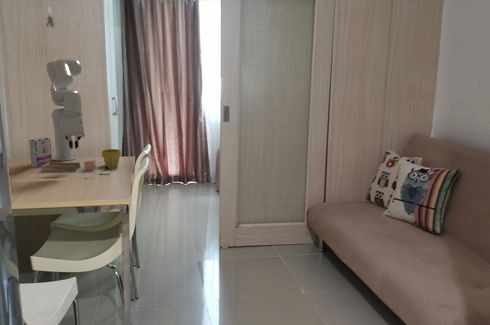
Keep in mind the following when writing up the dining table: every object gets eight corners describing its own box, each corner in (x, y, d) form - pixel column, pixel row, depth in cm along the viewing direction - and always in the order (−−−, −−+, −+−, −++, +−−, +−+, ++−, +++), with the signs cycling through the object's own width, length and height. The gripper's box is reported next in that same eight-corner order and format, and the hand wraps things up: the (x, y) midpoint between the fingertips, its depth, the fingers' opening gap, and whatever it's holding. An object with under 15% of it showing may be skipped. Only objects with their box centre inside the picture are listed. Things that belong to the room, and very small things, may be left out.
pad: (98, 172, 240) (98, 170, 240) (111, 171, 241) (111, 170, 241) (96, 174, 233) (96, 173, 233) (109, 174, 234) (109, 173, 234)
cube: (86, 168, 242) (86, 159, 241) (96, 168, 242) (95, 159, 241) (84, 170, 237) (84, 161, 236) (94, 170, 237) (93, 161, 236)
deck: (47, 168, 247) (47, 166, 246) (100, 167, 251) (100, 165, 250) (36, 175, 229) (36, 173, 229) (94, 174, 233) (94, 172, 233)
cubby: (48, 168, 242) (47, 162, 241) (80, 167, 244) (79, 162, 244) (42, 171, 232) (42, 166, 232) (75, 171, 235) (75, 165, 234)
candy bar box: (45, 165, 256) (43, 137, 253) (52, 165, 254) (50, 137, 251) (30, 168, 246) (28, 139, 243) (37, 169, 244) (35, 140, 241)
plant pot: (115, 169, 247) (115, 152, 246) (99, 168, 250) (98, 151, 248) (124, 165, 257) (123, 149, 256) (108, 164, 259) (107, 148, 258)
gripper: (88, 113, 238) (90, 147, 242) (58, 113, 236) (60, 147, 240) (85, 115, 231) (87, 149, 234) (54, 114, 229) (56, 149, 232)
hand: (74, 148), depth 237 cm, fingers closed
